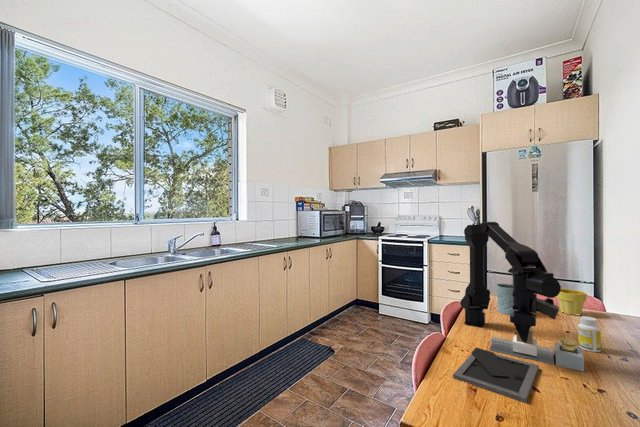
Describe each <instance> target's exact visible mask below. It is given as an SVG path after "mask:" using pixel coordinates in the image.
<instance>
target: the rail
mask: <svg viewBox="0 0 640 427" xmlns="http://www.w3.org/2000/svg"><path fill="white" fill-rule="evenodd" d="M489 351H490V352H494V353H495V352H496V353H500V354H504V355H509V356H513V357H518V358H523V359H527V360H530V361H535V362H538V363H539V362H540V363H544V364H549V365H553V366H554V365H555V360H554V357H555V356H554V355H555V354H554V348H550V347H545V346H540V345H537V356H533V355H528V354H524V353H519V352H515V351H513V340H511V339H504V338H500V337H495V336H492V337H491V339H490V348H489Z"/></svg>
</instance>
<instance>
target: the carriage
mask: <svg viewBox="0 0 640 427" xmlns="http://www.w3.org/2000/svg"><path fill="white" fill-rule="evenodd" d="M533 327H534V326H532V327H530V329H529V334H528V338H527V342H522V340H521V338H520V336H519V334H518V331H517V329H516V328H515V330H516V335H513V338H512V341H513V351H515V352H519V353H524V354H528V355H533V356H537V346H538V339H536V338H535V339H534V333H533V331H534V330H533Z"/></svg>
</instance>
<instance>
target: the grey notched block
mask: <svg viewBox="0 0 640 427" xmlns="http://www.w3.org/2000/svg"><path fill="white" fill-rule="evenodd" d="M582 350H583V349H582V348H581V347H579V346H577V345H576V346H575V353H571V352H566V351H562V343H561V342H554V355H555V356H554V357H555V366H557V367H562V368H566V369H570V370H571V369H572V370H576V371H579V372H580V371H581V372H585V359H584V358H585V357H584V354H583V351H582Z"/></svg>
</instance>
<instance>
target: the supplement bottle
mask: <svg viewBox="0 0 640 427" xmlns="http://www.w3.org/2000/svg"><path fill="white" fill-rule="evenodd" d="M579 317H580V322H579V323H578V324H577V336H578V347H581V350H585V351H588V352H593V353H601V351H602V336H601V334H602V333H601V331H602V330H601V328H600V326H598V319H596V318H595V317H591V316H583V315H582V316H579Z"/></svg>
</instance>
